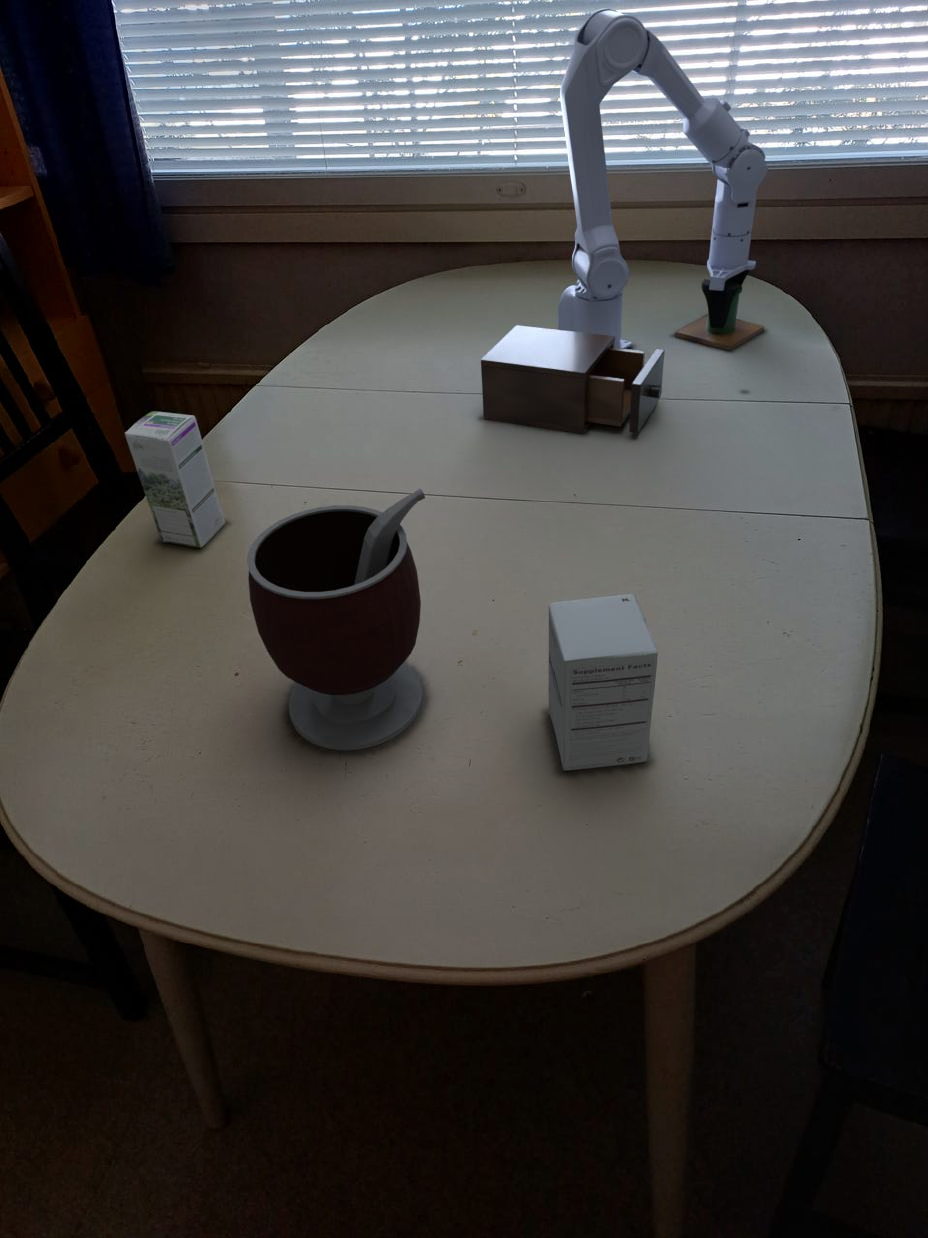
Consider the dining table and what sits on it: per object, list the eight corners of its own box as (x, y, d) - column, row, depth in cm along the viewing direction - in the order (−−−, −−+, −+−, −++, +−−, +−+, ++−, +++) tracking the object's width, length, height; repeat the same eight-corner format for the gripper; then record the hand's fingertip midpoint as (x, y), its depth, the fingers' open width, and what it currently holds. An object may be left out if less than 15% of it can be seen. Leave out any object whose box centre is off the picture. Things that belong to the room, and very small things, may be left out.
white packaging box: (546, 711, 80) (546, 599, 72) (628, 702, 80) (637, 590, 72) (560, 774, 74) (561, 660, 66) (649, 764, 75) (661, 650, 67)
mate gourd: (304, 778, 76) (255, 590, 63) (264, 678, 86) (215, 498, 73) (471, 718, 80) (457, 531, 67) (415, 630, 90) (393, 452, 77)
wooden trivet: (674, 336, 143) (675, 331, 143) (709, 317, 148) (709, 312, 148) (730, 351, 137) (730, 346, 137) (764, 330, 143) (764, 325, 142)
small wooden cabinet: (612, 394, 128) (615, 335, 123) (583, 434, 120) (585, 373, 114) (517, 381, 134) (516, 324, 128) (483, 418, 125) (480, 359, 120)
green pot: (698, 329, 143) (702, 288, 138) (715, 319, 145) (720, 278, 141) (725, 336, 140) (731, 295, 136) (742, 326, 142) (748, 285, 138)
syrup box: (227, 523, 108) (197, 412, 99) (200, 550, 104) (166, 437, 94) (186, 517, 110) (153, 407, 100) (159, 544, 105) (121, 431, 96)
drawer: (669, 397, 124) (673, 350, 120) (646, 435, 117) (650, 386, 112) (568, 384, 130) (569, 338, 125) (540, 419, 122) (540, 371, 118)
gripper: (749, 247, 127) (737, 341, 135) (768, 218, 137) (756, 306, 145) (699, 244, 129) (690, 336, 138) (721, 215, 139) (712, 302, 148)
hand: (721, 320), depth 142 cm, fingers closed on green pot, 5 cm apart
